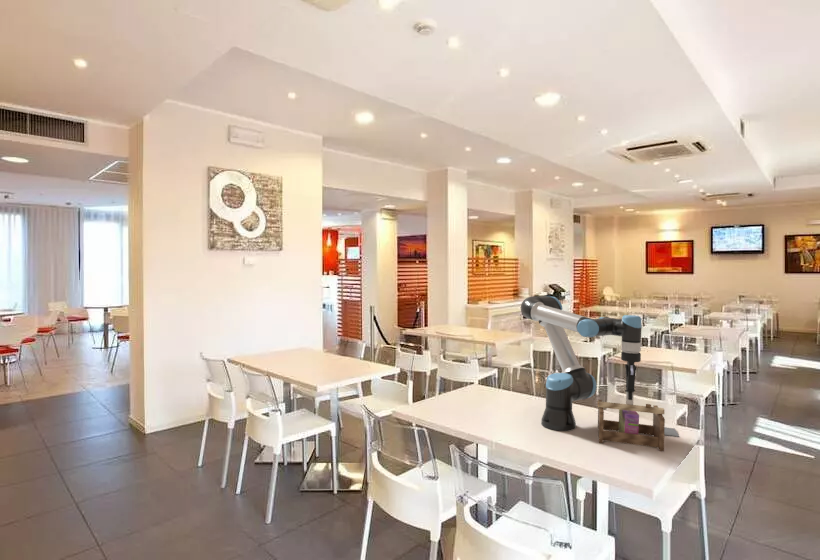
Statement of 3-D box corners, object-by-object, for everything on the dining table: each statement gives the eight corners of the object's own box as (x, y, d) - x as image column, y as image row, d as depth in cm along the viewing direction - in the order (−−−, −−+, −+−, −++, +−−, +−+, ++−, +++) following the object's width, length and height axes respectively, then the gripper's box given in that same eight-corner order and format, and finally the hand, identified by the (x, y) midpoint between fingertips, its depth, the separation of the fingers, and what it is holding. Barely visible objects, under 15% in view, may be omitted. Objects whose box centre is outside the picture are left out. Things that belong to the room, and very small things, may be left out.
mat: (653, 434, 207) (653, 433, 207) (650, 426, 218) (650, 425, 218) (679, 437, 204) (679, 436, 204) (674, 429, 214) (674, 428, 214)
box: (638, 442, 197) (639, 414, 197) (624, 441, 198) (624, 413, 198) (632, 433, 207) (632, 407, 207) (618, 432, 208) (618, 406, 208)
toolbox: (599, 442, 196) (599, 411, 195) (597, 427, 215) (598, 399, 214) (663, 451, 187) (664, 419, 187) (656, 435, 206) (657, 405, 206)
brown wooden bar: (597, 407, 202) (597, 400, 201) (597, 405, 204) (597, 398, 204) (664, 414, 193) (664, 407, 193) (663, 412, 196) (663, 405, 195)
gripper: (642, 354, 193) (641, 411, 193) (638, 349, 205) (637, 403, 205) (622, 353, 195) (621, 409, 196) (620, 348, 207) (618, 401, 208)
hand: (629, 406), depth 201 cm, fingers closed
